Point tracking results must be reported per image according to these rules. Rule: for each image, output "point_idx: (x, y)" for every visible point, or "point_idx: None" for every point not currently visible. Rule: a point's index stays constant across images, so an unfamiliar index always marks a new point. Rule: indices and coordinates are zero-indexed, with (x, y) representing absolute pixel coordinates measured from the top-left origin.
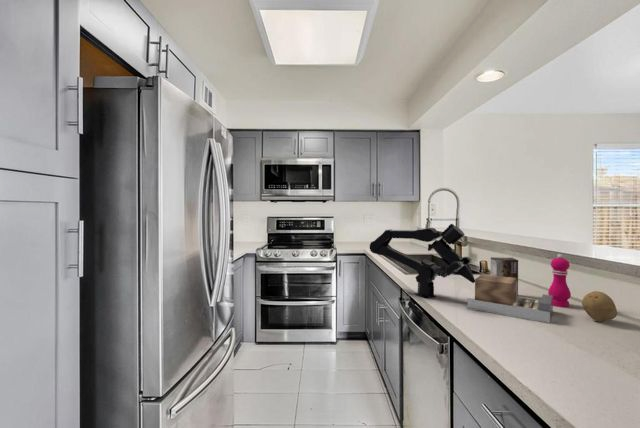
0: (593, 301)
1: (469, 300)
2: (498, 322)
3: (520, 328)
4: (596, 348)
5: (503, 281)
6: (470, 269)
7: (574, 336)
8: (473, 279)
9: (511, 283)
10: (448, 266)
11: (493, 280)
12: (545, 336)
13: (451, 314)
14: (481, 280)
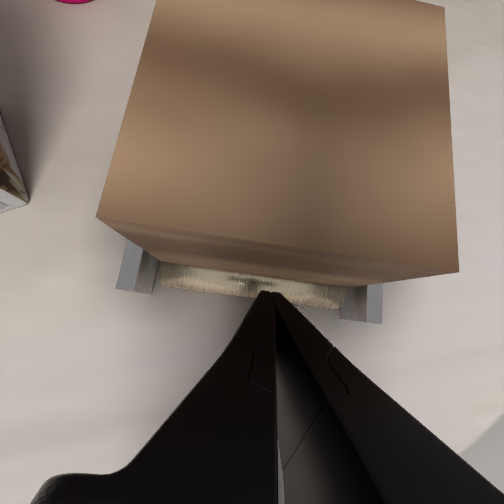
0: None
1: (377, 313)
2: (462, 195)
3: (475, 136)
4: (500, 3)
5: (397, 47)
6: (246, 371)
7: (445, 22)
8: (289, 305)
9: (434, 6)
10: None
11: (408, 115)
12: (497, 84)
13: (488, 373)
14: (451, 214)
